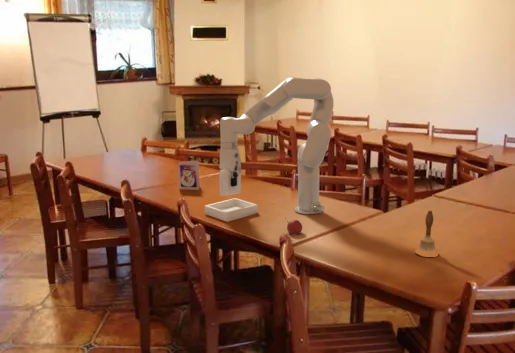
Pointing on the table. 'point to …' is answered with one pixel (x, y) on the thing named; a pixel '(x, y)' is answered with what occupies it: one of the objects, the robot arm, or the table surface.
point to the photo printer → (228, 183)
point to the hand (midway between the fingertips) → (230, 184)
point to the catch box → (231, 209)
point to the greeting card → (188, 175)
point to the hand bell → (428, 235)
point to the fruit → (294, 227)
